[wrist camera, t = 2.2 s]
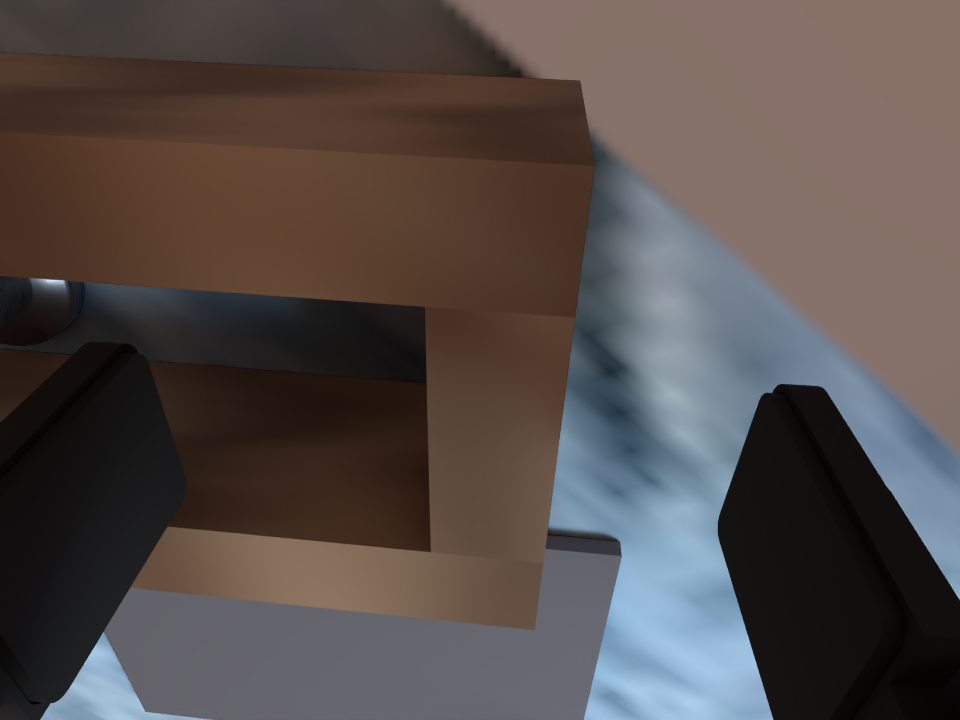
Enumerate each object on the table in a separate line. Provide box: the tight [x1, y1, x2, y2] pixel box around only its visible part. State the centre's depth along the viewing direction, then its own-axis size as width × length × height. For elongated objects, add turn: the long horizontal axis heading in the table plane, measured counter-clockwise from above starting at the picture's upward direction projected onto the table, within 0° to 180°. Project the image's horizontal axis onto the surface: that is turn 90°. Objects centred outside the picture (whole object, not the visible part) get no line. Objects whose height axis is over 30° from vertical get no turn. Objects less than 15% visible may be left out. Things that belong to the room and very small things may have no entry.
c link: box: [0, 53, 595, 630], centre depth 12 cm, size 14×9×5 cm, turn 88°
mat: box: [104, 535, 622, 720], centre depth 22 cm, size 17×12×1 cm
